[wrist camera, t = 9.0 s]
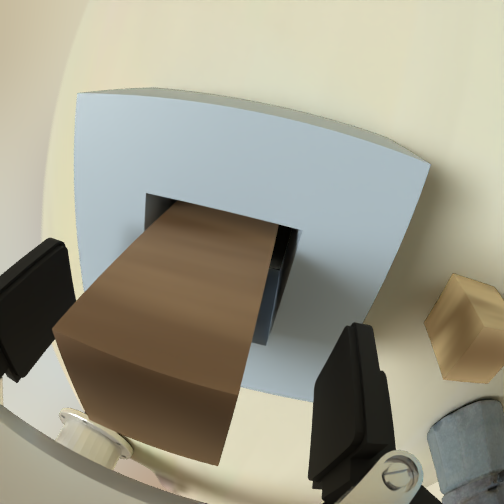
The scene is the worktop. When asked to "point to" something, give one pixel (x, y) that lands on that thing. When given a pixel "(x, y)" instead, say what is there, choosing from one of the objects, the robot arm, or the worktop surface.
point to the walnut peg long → (171, 330)
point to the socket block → (252, 206)
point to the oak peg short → (467, 331)
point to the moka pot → (470, 454)
